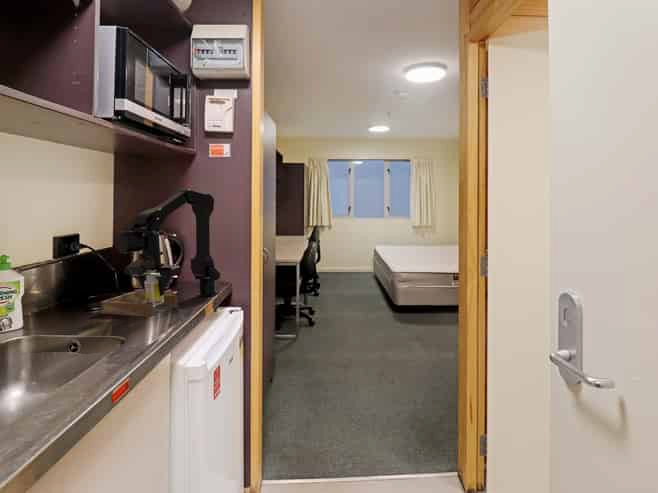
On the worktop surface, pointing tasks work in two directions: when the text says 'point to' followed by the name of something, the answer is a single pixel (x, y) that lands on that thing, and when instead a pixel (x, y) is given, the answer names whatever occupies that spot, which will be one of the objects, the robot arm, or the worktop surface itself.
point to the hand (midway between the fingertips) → (154, 295)
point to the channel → (135, 304)
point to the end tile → (161, 309)
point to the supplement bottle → (153, 290)
